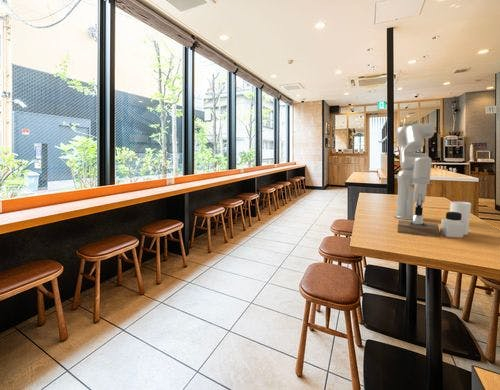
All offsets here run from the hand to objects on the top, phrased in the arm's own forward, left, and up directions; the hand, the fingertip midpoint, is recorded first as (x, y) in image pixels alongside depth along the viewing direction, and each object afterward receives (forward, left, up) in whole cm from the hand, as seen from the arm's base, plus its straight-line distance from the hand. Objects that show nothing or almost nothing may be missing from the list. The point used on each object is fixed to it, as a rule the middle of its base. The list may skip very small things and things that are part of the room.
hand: (418, 214), depth 136 cm
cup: (-8, +18, -10) cm, 22 cm away
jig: (0, 0, -9) cm, 9 cm away
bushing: (0, 0, -9) cm, 9 cm away
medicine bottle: (0, +14, -9) cm, 17 cm away
